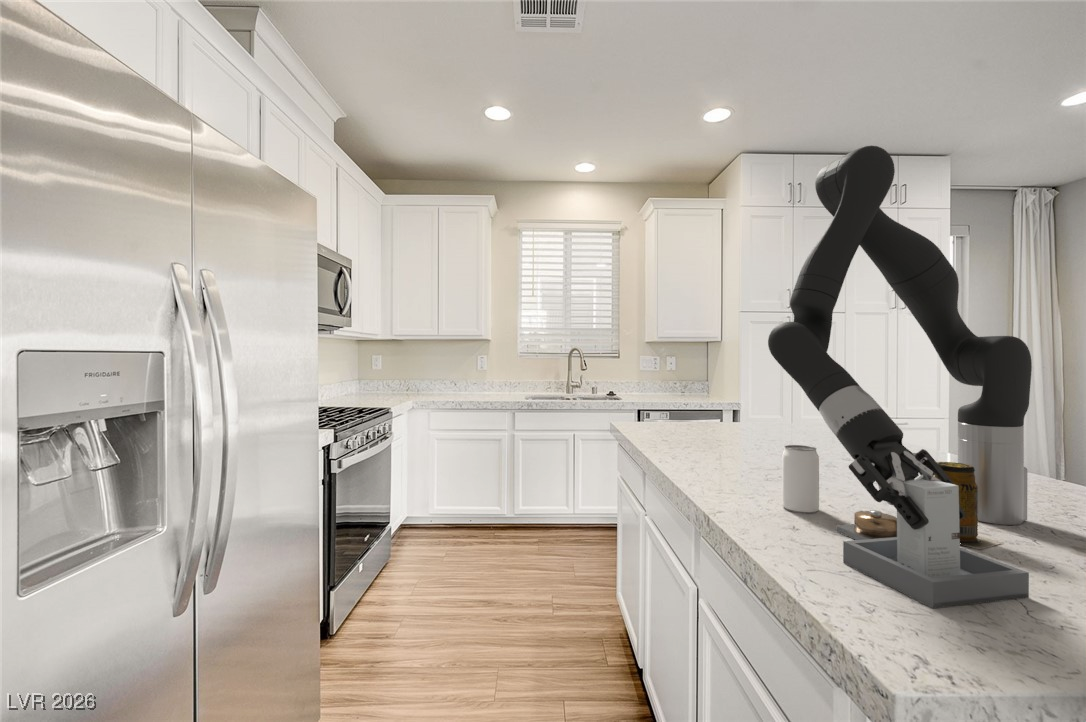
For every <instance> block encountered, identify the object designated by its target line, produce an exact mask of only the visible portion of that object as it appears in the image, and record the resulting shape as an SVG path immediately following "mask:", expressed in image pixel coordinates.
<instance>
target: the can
mask: <svg viewBox="0 0 1086 722" xmlns="http://www.w3.org/2000/svg"><path fill="white" fill-rule="evenodd" d="M781 459H782V460H781V503H782V504H781V506H782V507H783V509H785V510H786V511H789V510H790V511H789V512H794V513H798V512H799V514H815V513H817V512H818V511H819V510H820V456H819V454H818V452H817V448H816V447H815V446H810V445H803V444H802V445H801V444H799V445H798V444H789V445H784V450H783V452H782V456H781ZM814 512H815V513H814Z"/></svg>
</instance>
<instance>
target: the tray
mask: <svg viewBox="0 0 1086 722" xmlns="http://www.w3.org/2000/svg"><path fill="white" fill-rule="evenodd" d="M842 544H843V545H842V546H843V547H842V548H843V550H842V551H843V553H842V556H843V559H842V561H843V564H844V565H847V566H849V567H850V568H852V567H853V568H852V569H854V568H855V569H854V570H856V569H857V571H858V570H859V572H860V571H861V572H860V573H862V572H863V574H864V573H865V574H864V575H866V574H867V575H866V576H868V575H869V577H870V576H871V577H870V578H872V577H873V578H872V579H874V578H875V580H876V579H877V580H876V581H878V582H880V583H882V584H884V585H886V586H888V587H890V588H892V589H894V590H895V591H898V592H900V593H902V594H904V595H906V596H907V597H909V598H912V599H914V600H916V601H918V602H919V603H921V604H923V605H925V606H927V607H929V608H931V609H941V608H950V607H958V606H967V605H968V606H969V605H977V604H984V603H987V604H988V603H992V602H993V603H994V602H1004V601H1011V600H1020V599H1029V598H1030V597H1029V596H1030V594H1029V593H1030V590H1029V589H1030V585H1029V584H1030V583H1029V582H1030V577H1029V575H1030V573H1029V571H1026V570H1023V569H1020V568H1018V567H1015V566H1012V565H1009V564H1006V563H1004V562H1001V561H999V560H996V559H993V558H990V557H987V556H985V555H982V554H979V553H976V552H973V551H972V550H969V549H966V548H963V547H960V575H958V576H948V577H938V578H931V577H929V576H927V575H924V574H922V573H920V572H918V571H916V570H913V569H911V568H909V567H907V566H904V565H902V564H900V563H898V562H897V537H891V538H878V539H866V540H854V539H853V540H844V541H843V542H842Z"/></svg>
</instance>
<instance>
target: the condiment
mask: <svg viewBox="0 0 1086 722" xmlns="http://www.w3.org/2000/svg"><path fill="white" fill-rule="evenodd" d="M936 462H937V461H936ZM937 464H938V465H939V466H940V467H941V468H942V470H943V471H944V472H945V473H946V474H947V475H948V477H949V478H950V479H951V480H952V482H953V484H954V485H958V486H959V506H960V507H961V508H962V509H963V511H964V512H965V513H966V517H965V518H963V519H962V520H960V521H959V528H960V543H961V544H960V546H964V547H968V548H970V547H971V548H973V549H977V550H983V549H987V548H991V547H995V546H999V544H1003V542H1002V541H998V540H995V539H994V540H993V539H991V538H987V537H982V536H979V533H978V530H979V529H978V527H979V525H978V486H977V484H976V483H975V475H974V471H975V470H974V467H973V466H971V465H967V464H962V463H958V462H952V461H938V462H937ZM934 476H935V477H936V478H937V479H939V480H940V481H941V479H940V478H939V477H938V476H937V474H935V475H934ZM980 541H981V542H980Z"/></svg>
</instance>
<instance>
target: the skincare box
mask: <svg viewBox="0 0 1086 722" xmlns="http://www.w3.org/2000/svg"><path fill="white" fill-rule="evenodd" d="M903 484H904V487H905V490H906V493H907V495H906V496H905V497H908V496H910V497H911V499H912V500H913V501H914V502H915V504H916V505H917V506H918V507H919V509H920V510H921V511H922V512H923V514H924V515H925V516H926V517H927V518H928V520H929V522H928V524H927V525H925V526H924V527H922V528H921V529H916V530H914V529H912V528H911V526H910V525H909V524H908V523H907V522H906V521H905V520H904V518H903V517H902V515H900V513H899V512H898V511H897V510H896V518H897V562H898V563H900V564H902V565H904V566H907V567H909V568H911V569H913V570H916V571H918V572H920V573H922V574H924V575H927V576H929V577H931V578H938V577H948V576H958V575H960V548H961V545H960V528H959V486H958V485H954V484H950V483H945V482H940V481H936V480H909V481H904V483H903Z"/></svg>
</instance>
